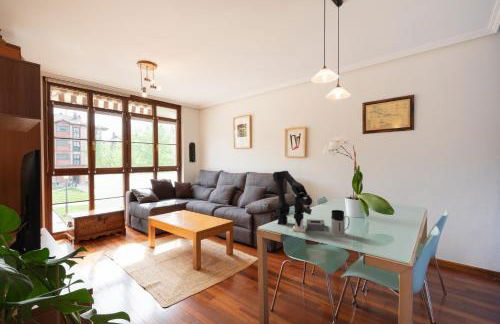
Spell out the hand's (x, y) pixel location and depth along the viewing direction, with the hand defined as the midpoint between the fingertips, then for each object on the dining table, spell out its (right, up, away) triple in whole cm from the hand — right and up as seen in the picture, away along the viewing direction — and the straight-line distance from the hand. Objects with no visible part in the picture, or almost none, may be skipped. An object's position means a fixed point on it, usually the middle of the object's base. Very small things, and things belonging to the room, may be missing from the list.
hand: (299, 225), depth 161 cm
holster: (0, -3, 0) cm, 3 cm away
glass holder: (+24, -3, -13) cm, 27 cm away
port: (+13, -3, +5) cm, 14 cm away
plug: (0, -3, 0) cm, 3 cm away
